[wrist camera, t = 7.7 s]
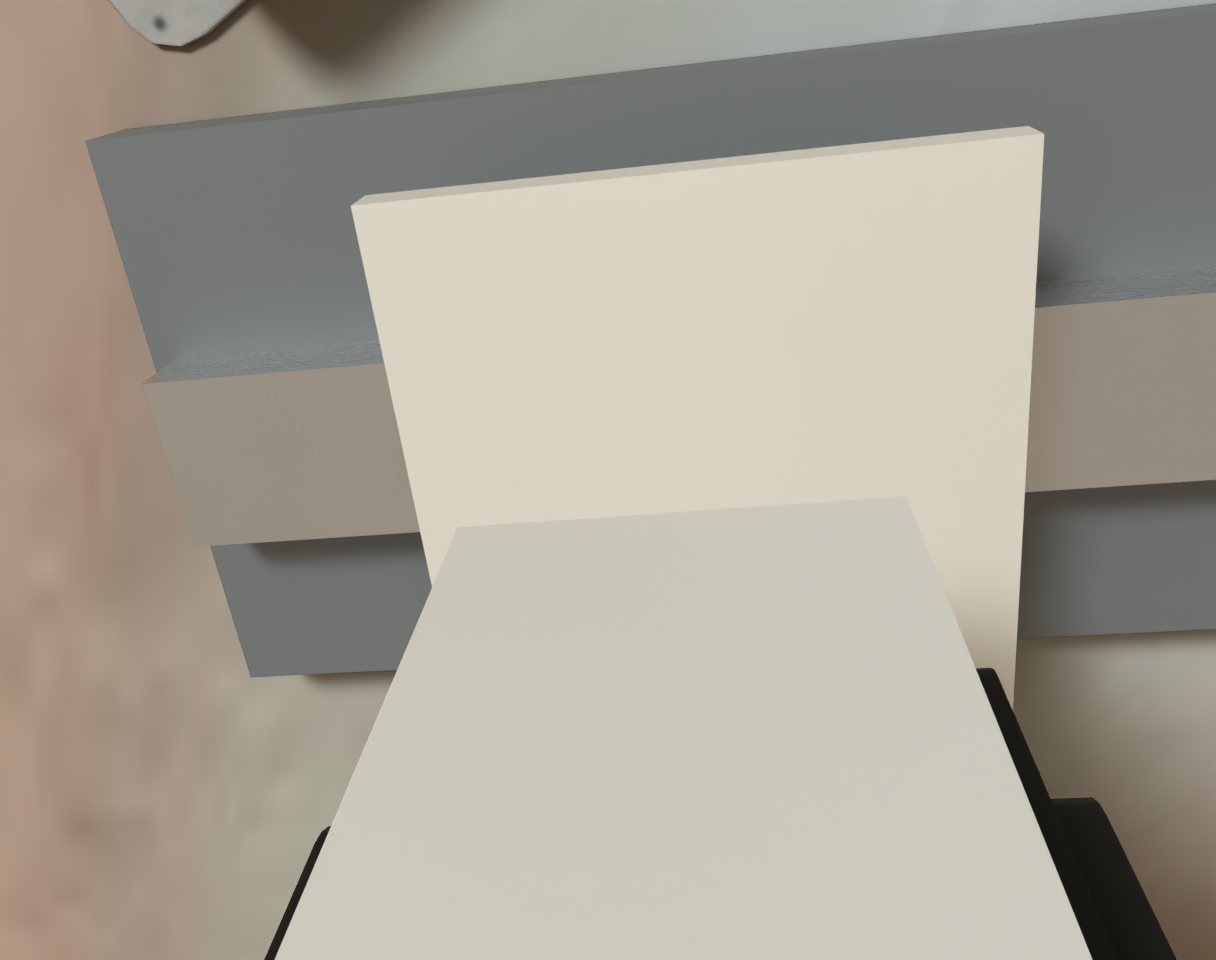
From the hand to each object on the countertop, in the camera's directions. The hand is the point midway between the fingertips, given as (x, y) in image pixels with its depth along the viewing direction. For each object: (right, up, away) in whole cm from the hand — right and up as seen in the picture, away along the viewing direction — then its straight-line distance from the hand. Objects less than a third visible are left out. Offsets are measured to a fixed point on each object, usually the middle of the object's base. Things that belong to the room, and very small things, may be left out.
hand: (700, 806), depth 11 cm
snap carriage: (+1, +4, +9) cm, 10 cm away
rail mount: (+1, +6, +11) cm, 13 cm away
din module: (0, 0, +1) cm, 1 cm away
